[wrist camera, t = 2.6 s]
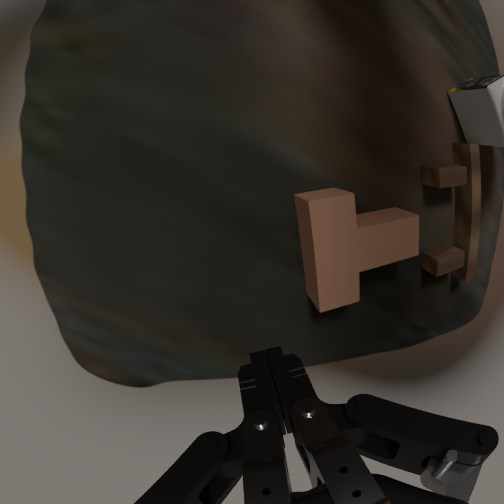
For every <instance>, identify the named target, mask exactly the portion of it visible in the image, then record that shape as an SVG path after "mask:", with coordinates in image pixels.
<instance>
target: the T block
mask: <svg viewBox="0 0 504 504" xmlns="http://www.w3.org/2000/svg"><path fill="white" fill-rule="evenodd" d="M294 199H295V205H296V212H297V219H298V227H299V234H300V242H301V249H302V257H303V266H304V274H305V283H306V292H307V294H308V296H309V297H310V299H311V300H312V302H313V303H314V305H315V306H316V308H317V309H318V311H319V312H320V313H321V312H324V311H328V310H331V309H335V308H338V307H342V306H345V305H348V304H352V303H355V302H358V301H359V272H362V271H365V270H369V269H372V268H376V267H379V266H383V265H386V264H390V263H393V262H397V261H400V260H403V259H407V258H410V257H413V256H416V255H418V252H419V215H417V214H414V213H411V212H408V211H406V210H403V209H400V208H397V207H394V208H388V209H383V210H378V211H373V212H368V213H363V214H358V215H356V208H355V197H354V193H351V192H348V191H345V190H341V189H338V188H329V189H323V190H317V191H311V192H306V193H300V194H294Z"/></svg>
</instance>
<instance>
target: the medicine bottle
mask: <svg viewBox="0 0 504 504" xmlns="http://www.w3.org/2000/svg"><path fill="white" fill-rule="evenodd" d="M448 95H449V97H450V100H451V102H452V104H453V107H454V109H455V112H456V114H457V117H458V119H459V122H460V125H461V127H462V130H463V133H464V136H465V139H466V142H467V143H468V144H478V145H488V146H497V147H504V75H498V76H488V77H480V78H473V79H470V80H468V81H466V82H464V83H462V84H460V85H459V86H457V87H455V88H453V89H451V90H449V91H448Z"/></svg>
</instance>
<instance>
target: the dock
mask: <svg viewBox="0 0 504 504" xmlns="http://www.w3.org/2000/svg"><path fill="white" fill-rule="evenodd" d="M452 146H453V157H454V165H452V164H443V165H431V166H421V177H422V185H427V186H432V187H436V188H446V187H452V186H455V234H454V246H453V245H451V244H447V245H444V246H441V247H437V248H434V249H431V250H428V251H425V252H422V266H421V268H423V269H424V270H426V271H428V272H429V273H431V274H432V275H434V276H436V277H438V276H441V275H443V274H446V273H449V272H451V274H452V275H454V276H456V277H457V278H459V279H461V280H462V281H464V282H467V281H469V280H472V279H474V276H475V269H476V262H477V254H478V244H479V233H480V216H481V170H480V153H479V145H478V144H465V143H452Z"/></svg>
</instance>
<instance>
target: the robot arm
mask: <svg viewBox="0 0 504 504" xmlns="http://www.w3.org/2000/svg"><path fill="white" fill-rule="evenodd" d="M265 351H266V355H265ZM265 351H264V350H262V351H258V352H254V353H249V354H250V359H251V363H252V364H248V365H243V366H241V367H240V370H239V372H238V379H239V385H240V392H241V398H242V404H243V410H244V419H243V421H242V423H241V424H240V425H239V426H238V427H237V428H236V429H234V430H232V431H230V432H228V433H226V434H222V433H219V432H215V431H211V432H206V433H203V434H201V435H200V436H198V437H197V438H196V440H195V441H194V442H193V443H192V444H191V445H190V446H189V448H188V449H187V450H186V451H185V452H184V453H183V454H182V455H181V456H180V457H179V458H178V459H177V461H176V462H175V463H174V464H173V465H172V466H171V467H170V468H169V469H168V470H167V471H166V472H165V473H164V474H163V475H162V476H161V477H160V478H159V479H158V480H157V482H155V483H154V484H153V486H151V488H150V489H148V490H147V492H145V493H144V494H143V495H142V496H141V497H140V498H139V499H138V500H137V501H136V502H135V503H134V504H221V503H222V502H223V501H224V499H225V498H226V497H227V495H228V494H229V493H230V492H231V490H232V489H233V488H234V486H235V485H236V484H237V482H238V481H239V480H240V478H241V477H242V474H243V489H244V503H245V504H469V503H468V501H469V498H470V496H471V493H472V491H473V489H474V486H475V483H476V481H477V478H478V475H479V472H480V469H481V466H482V464H483V462H484V461H485V460H486V459H487V458H488V456H489V455H490V454H491V453H492V452H493V451H494V449H495V448H496V447H497V444H498V439H499V438H498V434H497V432H496V430H495V429H494V428H492V427H490V426H486V425H481V424H476V423H471V422H466V421H462V420H457V419H453V418H448V417H445V416H440V415H437V414H433V413H429V412H425V411H422V410H418V409H415V408H411V407H407V406H404V405H401V404H398V403H394V402H391V401H388V400H385V399H382V398H379V397H376V396H372V395H369V394H359V395H356V396H353V397H352V398H350V399H349V400H348V402H347V403H346V404H328V403H325V402H323V401H321V400H320V399H319V398H318V397H317V395H316V393H315V391H314V389H313V386H312V384H311V382H310V379H309V377H308V375H307V374H306V371H305V368H304V366H303V364H302V362H301V359H300V358H298V357H297V356H296V355H294V354H289V355H285V356H284V355H283V352H282V350H281V347H280V346H279V347H275V348H271V349H266V350H265ZM266 356H267V358H266ZM267 361H268V362H267ZM283 420H284V421H283ZM284 423H285V426H284ZM285 427H286V430H287V433H288V434H289V433H293V436H294V438H295V444H296V448H297V450H298V452H299V455H300V457H301V459H302V461H303V464H304V466H305V468H306V471H307V473H308V475H309V478H310V480H311V484H312V487H313V489H311V490H309V491H305V492H292V489H291V484H290V479H289V473H288V467H287V462H286V456H285V451H284V448H285V444H284V439H283V435H285V434H286V431H285ZM359 454H360V455H362V456H365V457H367V458H370V459H373V460H375V461H378V462H381V463H383V464H386V465H389V466H392V467H395V468H398V469H402V470H404V471H408V472H411V473H414V474H418V475H421V476H420V479H421V483H422V485H423V486H424V487H426V488H428V489H430V490H432V491H433V492H431V491H427V490H424V489H421V488H418V487H415V486H412V485H409V484H406V483H403V482H401V481H398V480H395V479H393V478H390V477H387V476H384V475H380V474H371V473H370V471H369V469H368V468H367V466H366V465H365V463H364V461H363V460H362V458H361V456H360V455H359Z"/></svg>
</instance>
